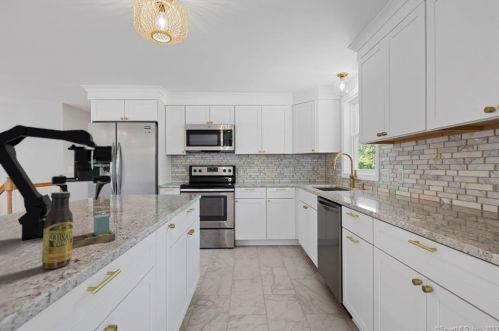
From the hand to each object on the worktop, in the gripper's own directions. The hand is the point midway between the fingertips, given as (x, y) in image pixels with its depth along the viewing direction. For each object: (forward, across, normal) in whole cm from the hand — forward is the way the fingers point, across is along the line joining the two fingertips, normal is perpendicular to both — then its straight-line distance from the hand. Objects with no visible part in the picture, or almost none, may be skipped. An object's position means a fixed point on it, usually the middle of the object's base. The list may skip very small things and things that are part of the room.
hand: (82, 201), depth 92 cm
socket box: (+13, 0, -15) cm, 20 cm away
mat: (+13, +3, -5) cm, 14 cm away
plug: (+13, +4, -15) cm, 20 cm away
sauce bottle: (+13, -10, -31) cm, 35 cm away
